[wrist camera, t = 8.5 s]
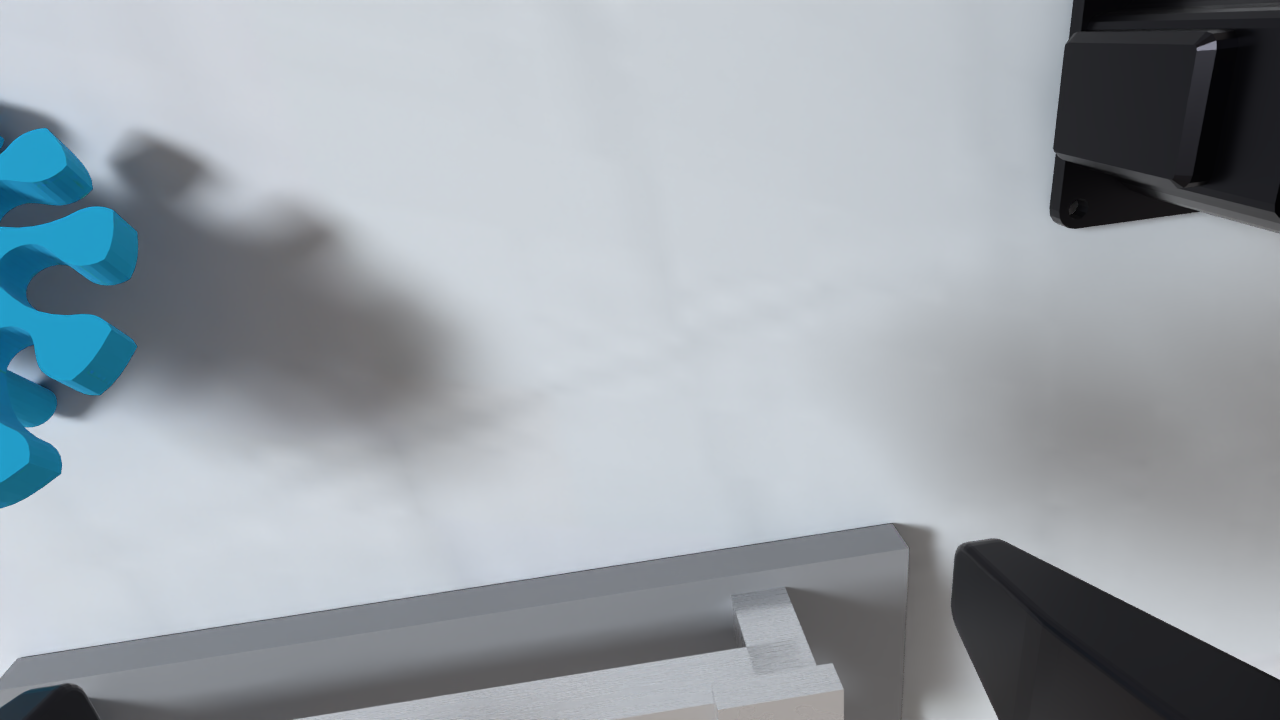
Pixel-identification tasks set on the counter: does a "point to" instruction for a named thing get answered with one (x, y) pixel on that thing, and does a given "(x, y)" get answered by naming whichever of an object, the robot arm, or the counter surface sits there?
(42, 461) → the gear
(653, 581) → the bolt plate
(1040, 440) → the counter surface
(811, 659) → the divider frame
